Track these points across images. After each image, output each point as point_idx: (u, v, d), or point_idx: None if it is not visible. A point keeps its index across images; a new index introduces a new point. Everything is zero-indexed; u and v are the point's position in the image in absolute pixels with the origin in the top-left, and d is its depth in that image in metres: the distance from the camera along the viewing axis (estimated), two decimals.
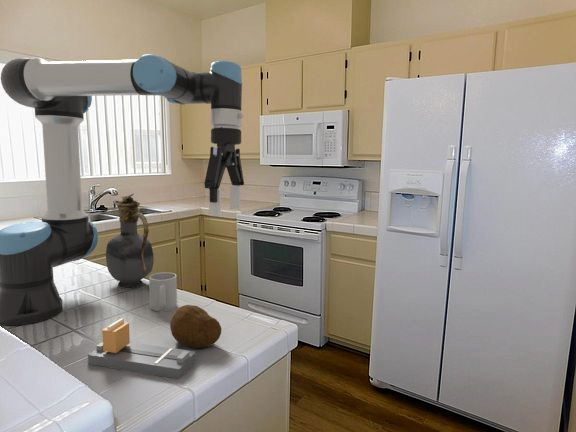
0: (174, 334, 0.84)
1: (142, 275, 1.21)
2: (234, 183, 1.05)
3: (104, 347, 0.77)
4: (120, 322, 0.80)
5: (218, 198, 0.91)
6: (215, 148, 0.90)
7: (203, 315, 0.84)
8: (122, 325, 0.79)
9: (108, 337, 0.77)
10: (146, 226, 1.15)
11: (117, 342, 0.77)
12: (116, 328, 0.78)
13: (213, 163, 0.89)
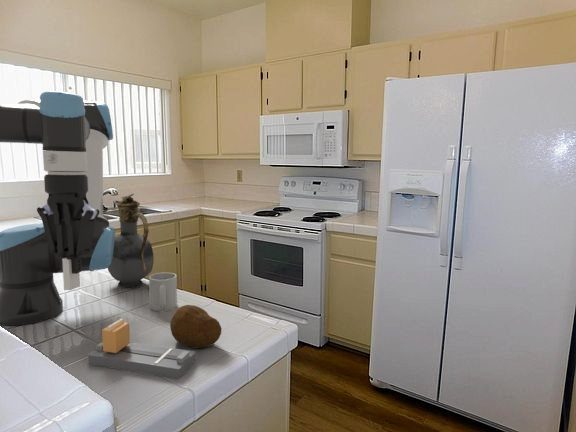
0: (174, 334, 0.84)
1: (142, 275, 1.21)
2: None
3: (104, 347, 0.77)
4: (120, 322, 0.80)
5: None
6: None
7: (203, 315, 0.84)
8: (122, 325, 0.79)
9: (108, 337, 0.77)
10: (146, 226, 1.15)
11: (117, 342, 0.77)
12: (116, 328, 0.78)
13: None
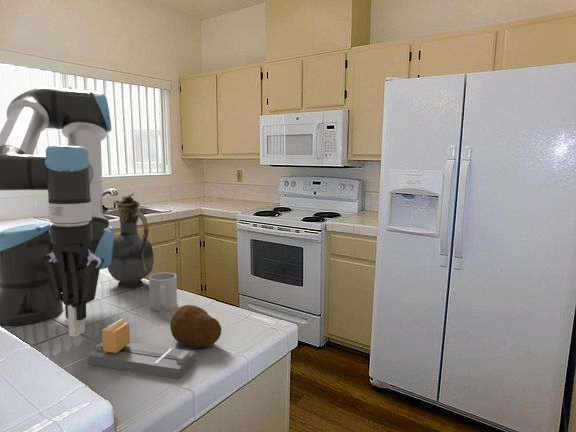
0: (174, 334, 0.84)
1: (142, 275, 1.21)
2: None
3: (104, 347, 0.77)
4: (120, 322, 0.80)
5: None
6: None
7: (203, 315, 0.84)
8: (122, 325, 0.79)
9: (108, 337, 0.77)
10: (146, 226, 1.15)
11: (117, 342, 0.77)
12: (116, 328, 0.78)
13: None
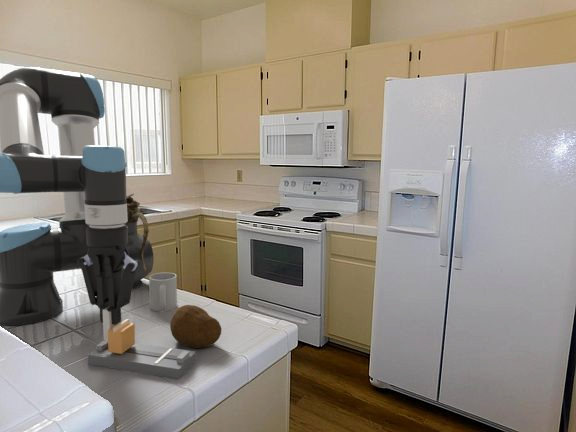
0: (174, 334, 0.84)
1: (142, 275, 1.21)
2: None
3: (110, 348, 0.77)
4: (125, 323, 0.79)
5: None
6: None
7: (203, 315, 0.84)
8: (127, 326, 0.79)
9: (114, 338, 0.76)
10: (146, 226, 1.15)
11: (123, 343, 0.77)
12: (122, 329, 0.77)
13: None
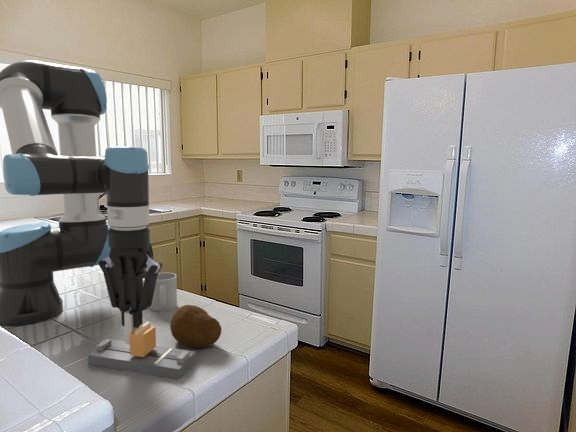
0: (174, 334, 0.84)
1: None
2: None
3: (131, 351, 0.76)
4: (147, 326, 0.78)
5: None
6: None
7: (203, 315, 0.84)
8: (149, 329, 0.78)
9: (136, 341, 0.75)
10: (146, 226, 1.15)
11: (144, 346, 0.76)
12: (143, 332, 0.76)
13: None
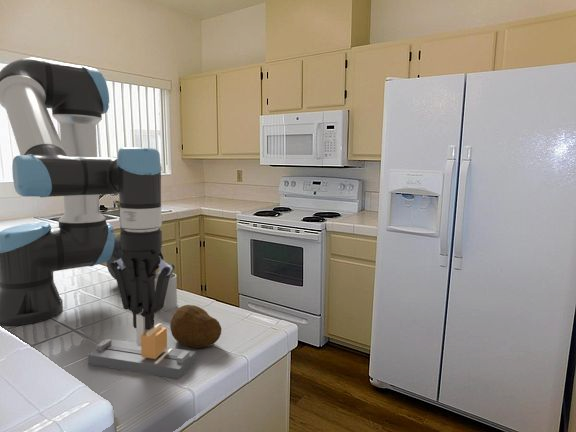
0: (174, 334, 0.84)
1: None
2: None
3: (143, 353, 0.75)
4: (158, 327, 0.78)
5: None
6: None
7: (203, 315, 0.84)
8: (160, 330, 0.77)
9: (147, 342, 0.75)
10: None
11: (156, 348, 0.75)
12: (155, 333, 0.76)
13: None
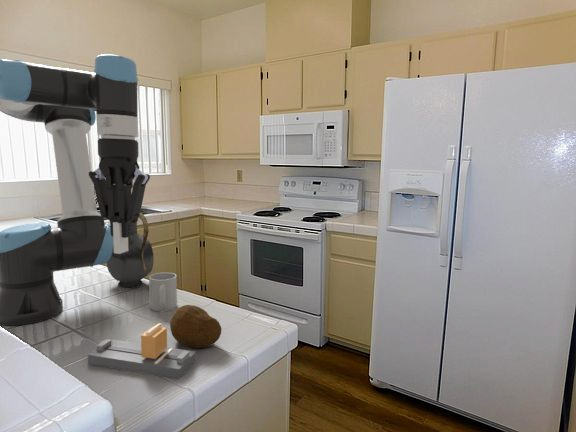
0: (174, 334, 0.84)
1: (142, 275, 1.21)
2: None
3: (143, 353, 0.75)
4: (158, 327, 0.78)
5: None
6: None
7: (203, 315, 0.84)
8: (160, 330, 0.77)
9: (147, 342, 0.75)
10: (146, 226, 1.15)
11: (156, 348, 0.75)
12: (155, 333, 0.76)
13: None
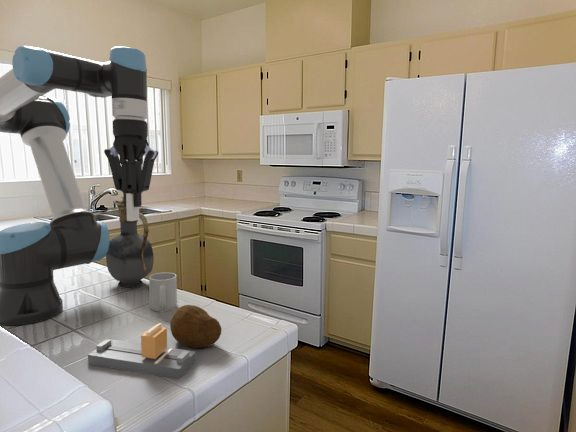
0: (174, 334, 0.84)
1: (142, 275, 1.21)
2: None
3: (143, 353, 0.75)
4: (158, 327, 0.78)
5: None
6: None
7: (203, 315, 0.84)
8: (160, 330, 0.77)
9: (147, 342, 0.75)
10: (146, 226, 1.15)
11: (156, 348, 0.75)
12: (155, 333, 0.76)
13: None
